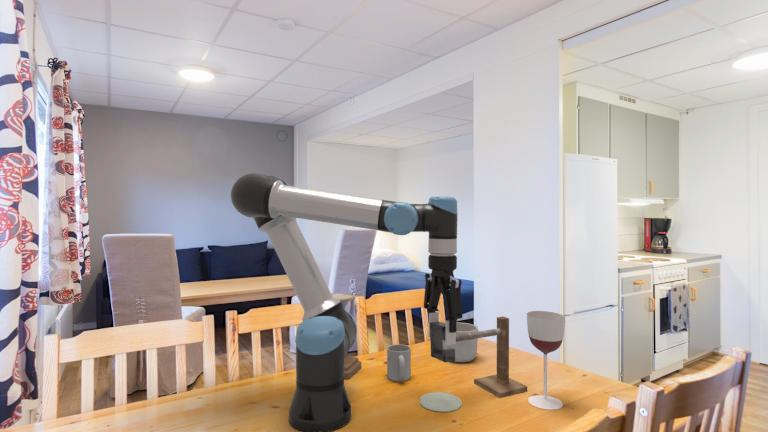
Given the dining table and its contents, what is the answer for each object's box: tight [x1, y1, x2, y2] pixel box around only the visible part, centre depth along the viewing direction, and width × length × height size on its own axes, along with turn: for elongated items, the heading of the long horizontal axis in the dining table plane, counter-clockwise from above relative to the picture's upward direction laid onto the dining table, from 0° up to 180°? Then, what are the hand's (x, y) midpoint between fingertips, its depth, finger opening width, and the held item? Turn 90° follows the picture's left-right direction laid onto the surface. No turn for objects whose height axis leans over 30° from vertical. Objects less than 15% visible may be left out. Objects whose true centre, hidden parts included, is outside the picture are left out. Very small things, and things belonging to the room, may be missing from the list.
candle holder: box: [331, 292, 362, 380], centre depth 137 cm, size 11×11×24 cm
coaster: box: [419, 391, 463, 413], centre depth 115 cm, size 11×11×1 cm
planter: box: [443, 322, 479, 363], centre depth 149 cm, size 12×12×11 cm
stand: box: [456, 316, 528, 399], centre depth 123 cm, size 20×11×20 cm, turn 116°
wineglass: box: [526, 310, 566, 410], centre depth 115 cm, size 9×10×23 cm
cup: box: [386, 344, 412, 383], centre depth 131 cm, size 7×10×9 cm
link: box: [429, 321, 455, 363], centre depth 116 cm, size 3×7×9 cm, turn 27°
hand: (441, 340), depth 116 cm, fingers closed on link, 7 cm apart
